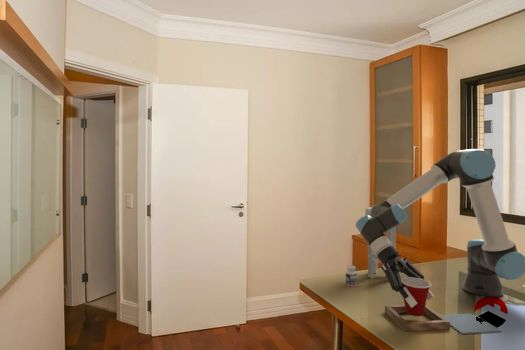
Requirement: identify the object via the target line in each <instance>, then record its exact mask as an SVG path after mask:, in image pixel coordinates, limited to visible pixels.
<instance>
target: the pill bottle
mask: <svg viewBox="0 0 525 350" xmlns="http://www.w3.org/2000/svg"><path fill="white" fill-rule="evenodd" d="M345 284H346V285H345V286H347V287H350V286H351V287H355V288H356V287H357V286H358V272H357V266H355V265H347V267H346V271H345Z"/></svg>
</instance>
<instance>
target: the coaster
mask: <svg viewBox="0 0 525 350" xmlns="http://www.w3.org/2000/svg"><path fill="white" fill-rule="evenodd" d="M472 314H473V315H472ZM472 314H471V313H453V314H451V313H450V314H440V315H441V316H443V317H444V318H445V319H447V320H448V321H450V327H451V326H452V327H451V328H453V329H454V330H455V329H456V330H455V331H457V332H458V331H459V334H461V335H470V334H471V335H473V334H488V332H491V333H502V330H501V329H499V327H498V328H497V326H495V325H493V324H491V323H489V322H488V321H486V320H485V321H486V322H485V321H483V322H481V323H482V324H481V323H480V322H479V321H476V317H474V316H475V315H476V314H475V315H474V313H473V312H472ZM476 316H477V317H478V318H481V317H480V316H478V315H476Z"/></svg>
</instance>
